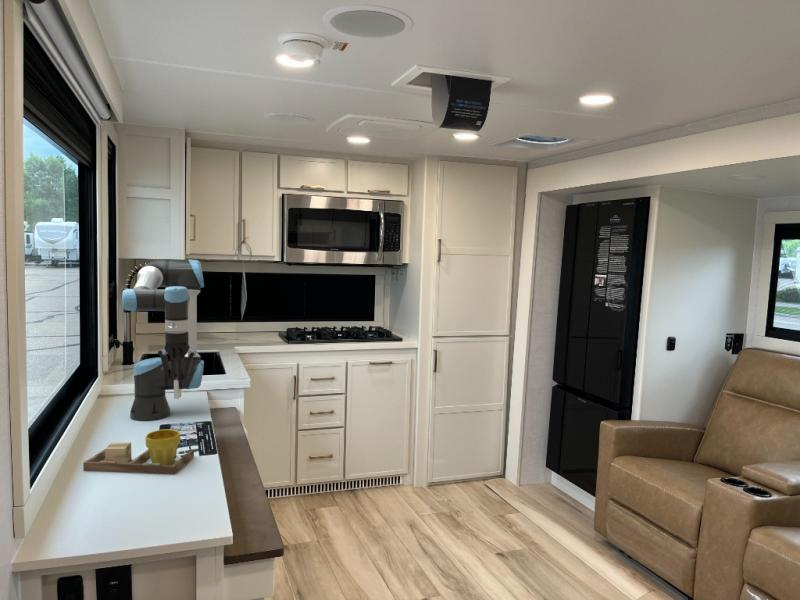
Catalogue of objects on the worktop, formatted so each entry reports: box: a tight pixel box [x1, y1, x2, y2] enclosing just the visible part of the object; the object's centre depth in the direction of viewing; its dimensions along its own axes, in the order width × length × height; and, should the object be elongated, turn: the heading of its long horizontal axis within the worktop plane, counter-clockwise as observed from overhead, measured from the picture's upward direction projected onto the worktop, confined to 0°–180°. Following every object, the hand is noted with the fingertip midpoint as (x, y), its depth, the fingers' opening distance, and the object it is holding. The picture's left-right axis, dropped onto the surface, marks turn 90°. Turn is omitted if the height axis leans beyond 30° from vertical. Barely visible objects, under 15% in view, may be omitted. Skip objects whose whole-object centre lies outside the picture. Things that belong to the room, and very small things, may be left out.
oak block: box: [104, 441, 133, 463], centre depth 189 cm, size 6×6×6 cm
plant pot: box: [145, 428, 181, 465], centre depth 189 cm, size 10×10×10 cm
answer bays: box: [82, 448, 195, 475], centre depth 189 cm, size 15×29×3 cm, turn 87°
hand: (177, 397), depth 205 cm, fingers closed
